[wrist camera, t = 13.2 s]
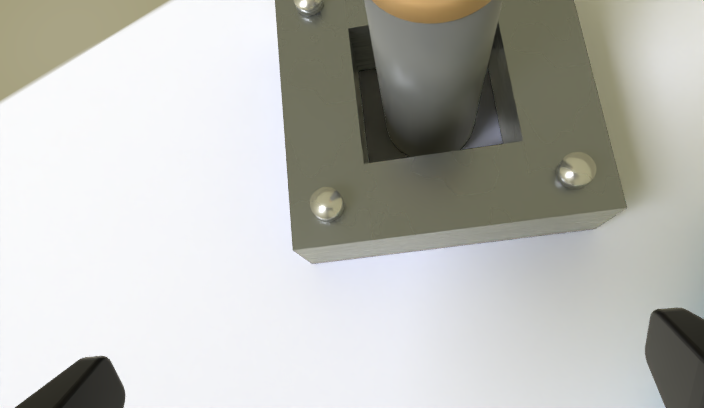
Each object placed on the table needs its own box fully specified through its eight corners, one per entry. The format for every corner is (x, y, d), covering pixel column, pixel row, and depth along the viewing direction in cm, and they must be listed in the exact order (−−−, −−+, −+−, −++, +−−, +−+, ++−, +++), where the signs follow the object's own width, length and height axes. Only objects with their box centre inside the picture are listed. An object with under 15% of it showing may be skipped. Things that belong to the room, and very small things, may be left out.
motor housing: (595, 229, 21) (633, 203, 17) (312, 263, 23) (288, 247, 19) (537, -15, 25) (559, -83, 21) (292, 27, 26) (269, -30, 22)
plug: (491, 101, 23) (567, -171, 11) (448, 177, 23) (478, -21, 10) (411, 65, 24) (398, -221, 12) (369, 137, 24) (308, -86, 11)
